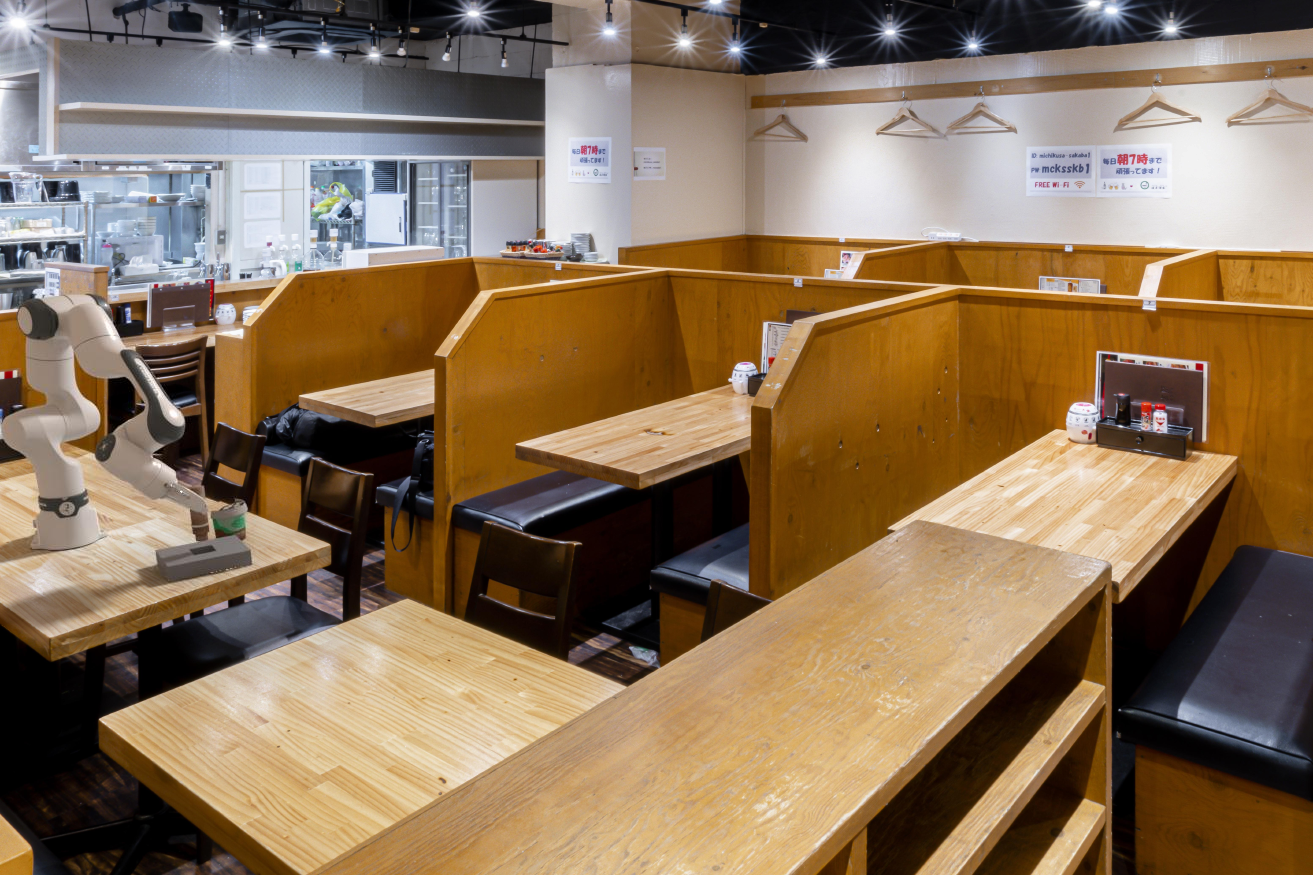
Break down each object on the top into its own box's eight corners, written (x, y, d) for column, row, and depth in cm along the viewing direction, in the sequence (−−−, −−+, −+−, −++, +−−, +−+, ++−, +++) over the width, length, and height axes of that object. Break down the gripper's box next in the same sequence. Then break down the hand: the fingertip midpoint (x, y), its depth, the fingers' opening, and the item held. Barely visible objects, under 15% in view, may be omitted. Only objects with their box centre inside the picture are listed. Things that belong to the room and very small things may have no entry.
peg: (191, 539, 272) (184, 487, 269) (208, 535, 275) (202, 484, 271) (195, 543, 269) (188, 490, 266) (212, 539, 271) (206, 487, 268)
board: (157, 564, 274) (155, 550, 273) (237, 548, 285) (235, 534, 284) (169, 581, 262) (167, 566, 261) (252, 564, 273) (250, 550, 272)
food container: (234, 547, 286) (230, 512, 284) (213, 546, 287) (209, 511, 285) (259, 533, 298) (255, 499, 295) (239, 531, 299) (236, 498, 297)
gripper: (183, 478, 255) (227, 507, 265) (148, 464, 269) (191, 492, 278) (167, 499, 253) (212, 528, 262) (132, 484, 267) (176, 512, 276)
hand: (200, 509), depth 270 cm, fingers closed on peg, 4 cm apart
